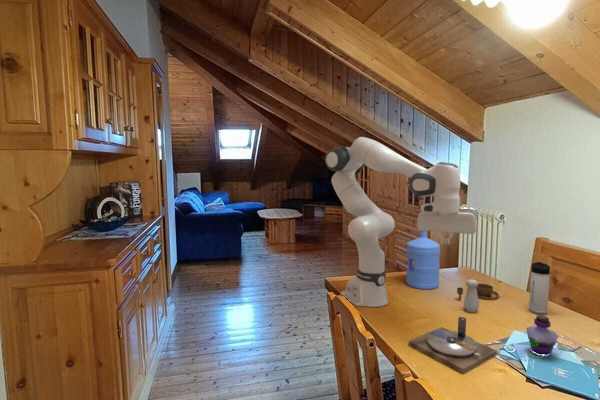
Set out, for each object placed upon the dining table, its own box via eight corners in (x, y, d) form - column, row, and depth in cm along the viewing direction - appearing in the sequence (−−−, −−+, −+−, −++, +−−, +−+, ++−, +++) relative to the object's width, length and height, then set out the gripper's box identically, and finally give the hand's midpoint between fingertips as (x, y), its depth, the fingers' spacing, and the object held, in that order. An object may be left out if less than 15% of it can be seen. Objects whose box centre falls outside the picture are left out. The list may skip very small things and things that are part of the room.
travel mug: (545, 310, 147) (548, 262, 144) (548, 316, 141) (551, 267, 138) (527, 307, 149) (530, 261, 147) (530, 313, 143) (533, 265, 141)
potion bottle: (521, 352, 115) (523, 316, 113) (528, 342, 121) (530, 308, 119) (553, 363, 108) (556, 325, 107) (559, 352, 114) (561, 316, 113)
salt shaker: (480, 314, 143) (481, 283, 142) (465, 313, 145) (466, 282, 143) (476, 308, 149) (477, 278, 148) (461, 307, 150) (462, 277, 149)
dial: (417, 342, 118) (418, 321, 118) (443, 329, 127) (444, 310, 126) (460, 362, 106) (461, 339, 105) (486, 347, 115) (487, 325, 114)
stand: (408, 345, 120) (408, 337, 120) (441, 330, 130) (441, 323, 130) (463, 373, 104) (463, 365, 103) (496, 355, 113) (497, 347, 113)
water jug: (441, 282, 182) (443, 228, 179) (435, 292, 168) (436, 233, 165) (410, 277, 190) (411, 225, 187) (402, 286, 177) (403, 230, 174)
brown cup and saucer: (506, 304, 154) (507, 291, 153) (457, 302, 157) (458, 289, 156) (490, 290, 171) (491, 278, 171) (447, 288, 174) (447, 277, 173)
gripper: (478, 207, 129) (476, 244, 130) (419, 204, 138) (418, 239, 139) (478, 209, 123) (476, 248, 124) (416, 206, 132) (415, 243, 134)
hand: (445, 243), depth 132 cm, fingers closed
